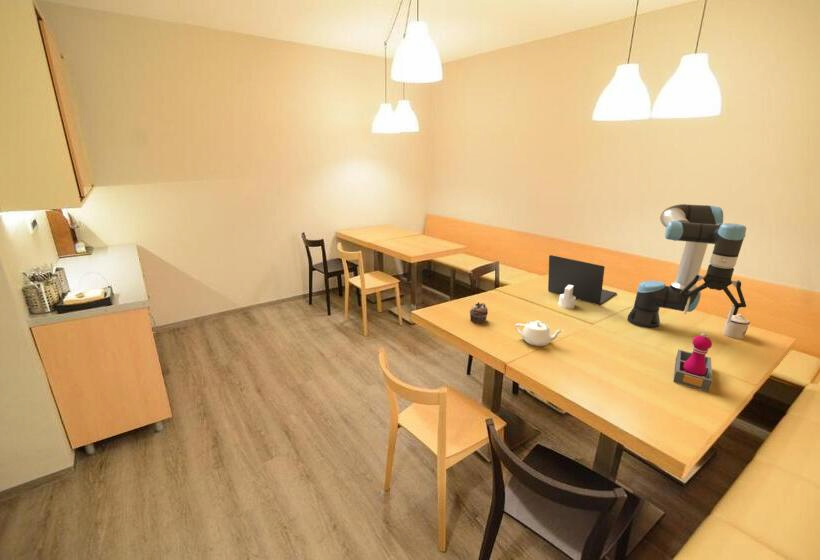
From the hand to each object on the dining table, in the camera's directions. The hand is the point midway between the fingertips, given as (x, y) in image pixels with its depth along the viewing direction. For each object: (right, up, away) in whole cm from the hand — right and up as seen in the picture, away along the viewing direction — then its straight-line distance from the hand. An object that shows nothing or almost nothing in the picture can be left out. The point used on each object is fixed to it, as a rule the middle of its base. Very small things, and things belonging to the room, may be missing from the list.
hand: (706, 317), depth 147 cm
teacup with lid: (+50, -13, +47) cm, 70 cm away
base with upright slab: (-22, -1, +80) cm, 82 cm away
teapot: (-54, -15, +35) cm, 67 cm away
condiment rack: (+1, -25, +10) cm, 27 cm away
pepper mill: (-2, -25, +5) cm, 26 cm away
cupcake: (-79, -7, +58) cm, 98 cm away
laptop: (-4, +5, +100) cm, 100 cm away
